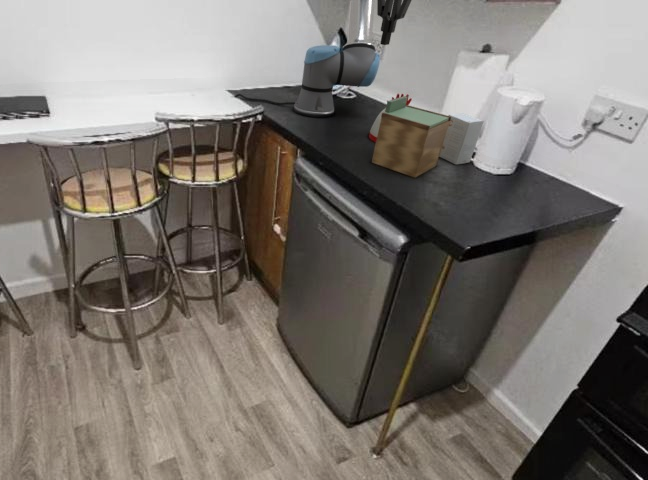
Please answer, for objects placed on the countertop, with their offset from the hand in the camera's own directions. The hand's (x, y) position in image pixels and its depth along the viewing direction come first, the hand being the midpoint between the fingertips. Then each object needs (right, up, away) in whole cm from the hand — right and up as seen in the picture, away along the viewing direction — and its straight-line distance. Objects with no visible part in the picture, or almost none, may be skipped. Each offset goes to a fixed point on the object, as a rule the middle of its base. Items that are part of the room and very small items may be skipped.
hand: (384, 44), depth 136 cm
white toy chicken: (+7, -24, +18) cm, 31 cm away
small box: (+23, -33, +7) cm, 41 cm away
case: (+6, -36, 0) cm, 36 cm away
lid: (+6, -24, -7) cm, 26 cm away
